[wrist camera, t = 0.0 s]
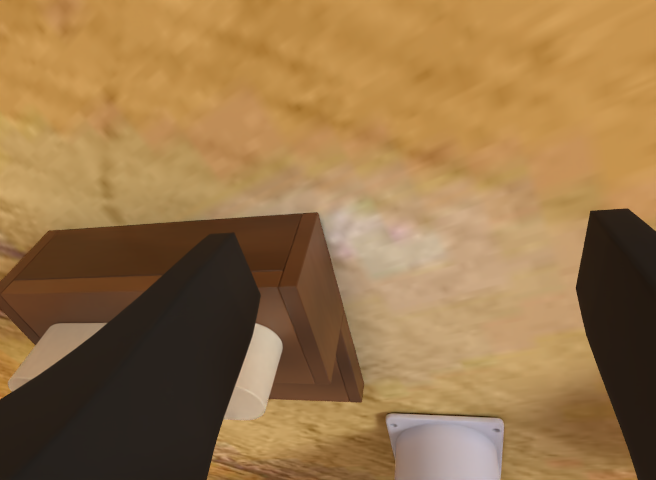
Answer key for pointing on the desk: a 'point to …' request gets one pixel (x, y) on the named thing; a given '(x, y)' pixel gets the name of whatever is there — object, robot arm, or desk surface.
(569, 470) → the desk surface
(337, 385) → the stepped wooden block
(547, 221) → the desk surface
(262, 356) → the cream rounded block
